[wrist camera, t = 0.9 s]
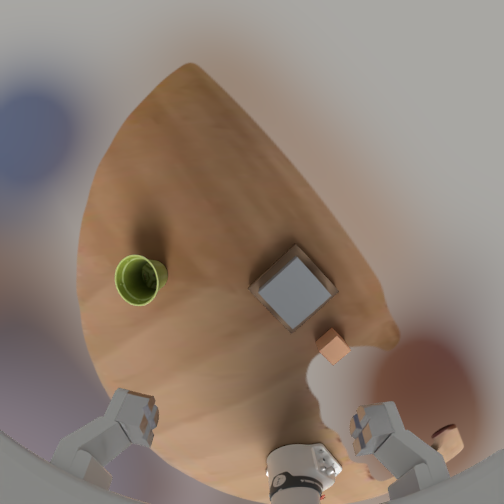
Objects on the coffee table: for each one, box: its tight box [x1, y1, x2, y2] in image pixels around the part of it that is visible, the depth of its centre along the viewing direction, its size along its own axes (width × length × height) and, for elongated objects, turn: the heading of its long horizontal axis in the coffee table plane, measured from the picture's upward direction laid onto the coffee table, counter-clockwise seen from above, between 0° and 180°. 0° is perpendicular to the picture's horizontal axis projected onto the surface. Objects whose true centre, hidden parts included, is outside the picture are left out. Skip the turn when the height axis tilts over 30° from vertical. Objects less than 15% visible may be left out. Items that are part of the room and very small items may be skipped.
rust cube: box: [316, 328, 351, 365], centre depth 50 cm, size 4×4×5 cm
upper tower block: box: [258, 256, 332, 329], centre depth 47 cm, size 9×9×4 cm
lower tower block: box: [248, 244, 339, 334], centre depth 51 cm, size 12×12×4 cm
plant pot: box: [115, 255, 168, 306], centre depth 50 cm, size 9×9×9 cm
